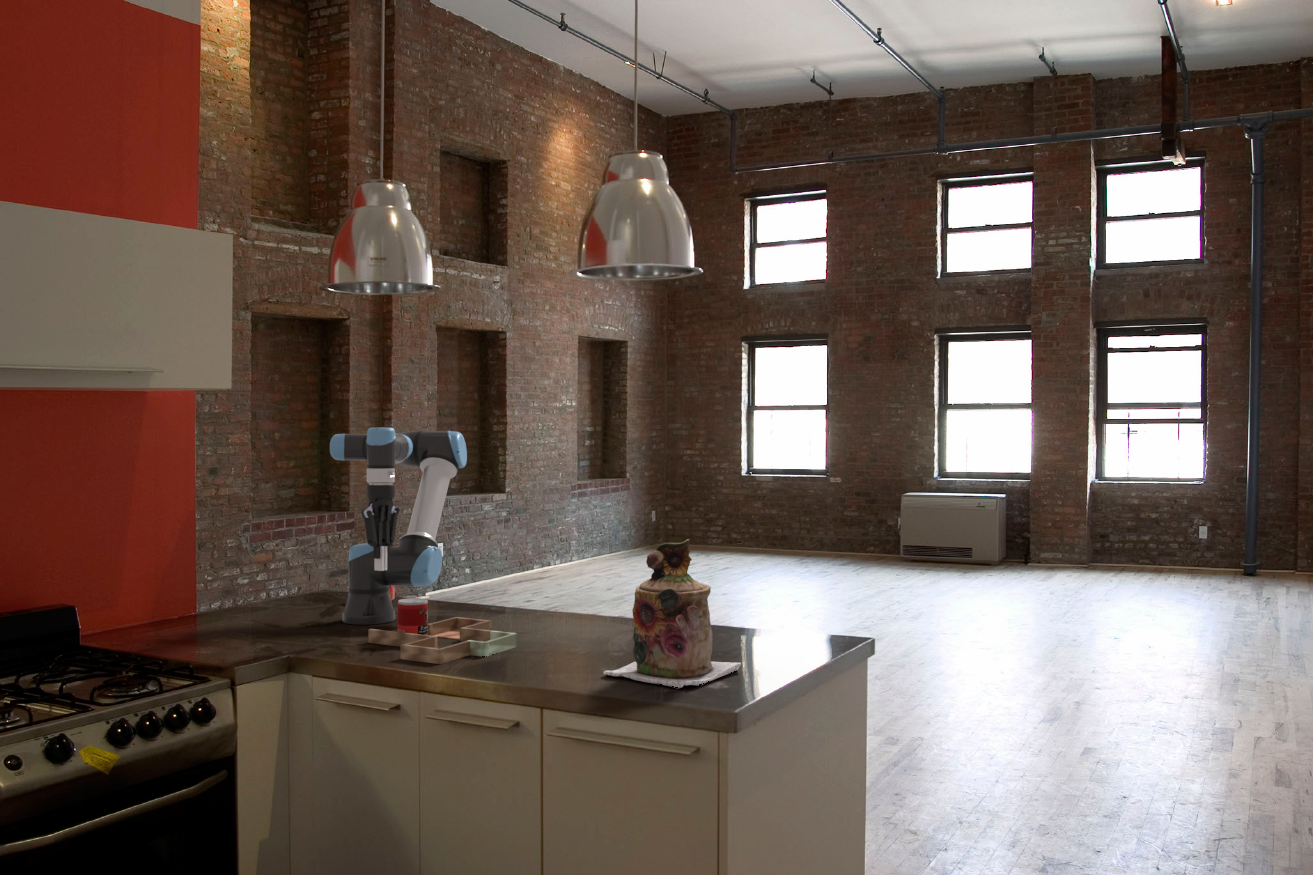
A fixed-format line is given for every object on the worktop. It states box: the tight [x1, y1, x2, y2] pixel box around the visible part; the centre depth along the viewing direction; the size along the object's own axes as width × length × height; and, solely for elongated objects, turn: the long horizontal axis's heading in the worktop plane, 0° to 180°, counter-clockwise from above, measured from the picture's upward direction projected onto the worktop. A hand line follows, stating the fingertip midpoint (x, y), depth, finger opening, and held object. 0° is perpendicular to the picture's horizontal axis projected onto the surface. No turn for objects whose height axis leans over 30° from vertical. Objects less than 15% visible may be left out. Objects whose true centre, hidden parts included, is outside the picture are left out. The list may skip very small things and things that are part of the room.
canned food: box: [397, 597, 429, 635], centre depth 297 cm, size 8×8×11 cm
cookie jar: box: [602, 538, 742, 689], centre depth 259 cm, size 25×25×32 cm
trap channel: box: [367, 616, 519, 665], centre depth 292 cm, size 38×38×4 cm
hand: (380, 570), depth 301 cm, fingers closed
